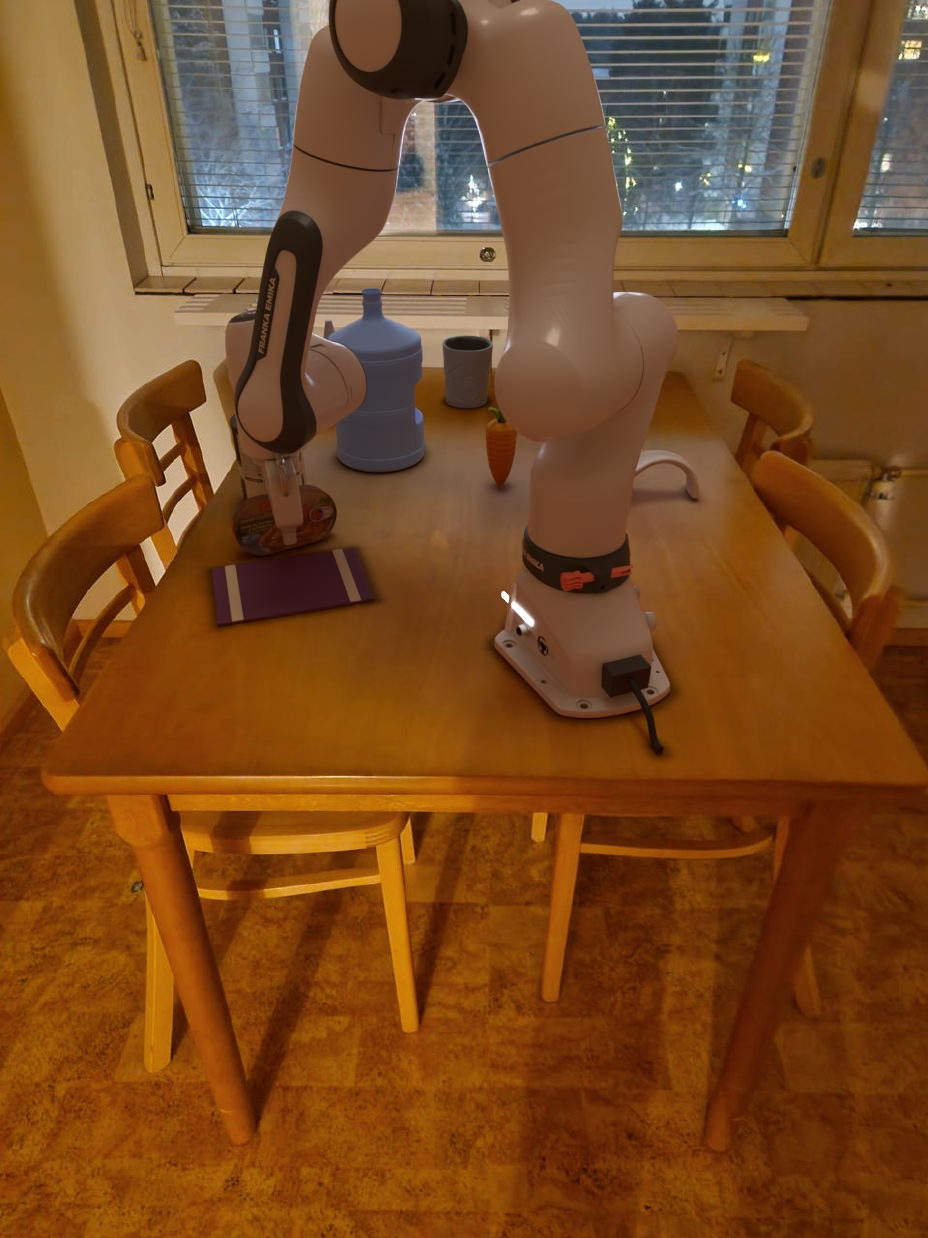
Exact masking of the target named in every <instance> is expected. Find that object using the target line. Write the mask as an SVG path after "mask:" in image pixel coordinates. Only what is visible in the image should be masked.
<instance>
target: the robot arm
mask: <svg viewBox="0 0 928 1238" xmlns="http://www.w3.org/2000/svg"><path fill="white" fill-rule="evenodd" d="M300 79H301V80H300V84H299V91H298V95H297V101H296V109H295V116H294V124H293V135H292V147H291V158H290V166H289V173H288V177H287V182H286V188H285V192H284V196H283V201H282V204H281V207H280V211H279V213H278V216H277V220H276V221H275V224H274V226H273V229H272V231H271V234H270V237H269V239H268V243H267V247H266V251H265V256H264V261H263V267H262V271H261V272H262V273H261V278H260V284H259V291H258V297H257V304H256V308H255V309H251V310H247V311H245V312H244V311H243V312H241V313H238V314H236V315H235V316H233V317H231V318H230V320H228V322H227V324H226V327H225V337H224V338H225V339H224V344H225V359H226V366H227V373H228V379H229V383H230V384H229V385H230V387H231V389H232V392H233V395H234V396H233V402H234V403H233V404H234V412H235V413H234V414H235V416H236V421H237V428H238V434H239V440H240V446H241V451H242V452H243V453H244V454H245V455H247V456H249V457H252V460H253V462H254V463H255V464H256V465H259V466H260V467H261V470H262V473H263V477H264V481H265V485H266V489H267V493H268V497H269V501H270V505H271V509H272V513H273V516H274V520H275V524H276V526H277V527H278V528H281V530H282V536H283V541H284V544H286V545H290V544H295V543H296V542H297V538H296V526H300V525H302V524H303V512H302V505H301V498H300V491H299V484H298V479H297V474H296V471H295V468H294V465H293V463H294V462H296V461H297V460H298V459H299V457H300V455H299V453H300V452H302V451H303V452H304V451H305V450H306V449H307V447H308V443H309V442H311V441H312V440H313V439H314V438H315V437H317V436H318V435H320V434H321V433H323V432H325V431H326V430H329V429H330V428H331V427H333V426H335V424H336V423H338V422H339V421H340V420H342V419H344V418H345V417H347V416H348V415H350V414H352V413H353V412H354V411H355V410H356V409H358V408H359V407H360V406H361V405H362V404H363V402H364V400H365V397H366V394H367V378H366V373H365V370H364V367H363V365H362V363H361V361H360V360H359V358H358V357H357V355H356V354H355V353H354V352H353V351H352V350H351V349H350V348H348V347H347V346H346V345H344V344H342V343H339V342H335V341H329V340H327V339H324V338H323V337H322V336H319V335H317V334H315V333H313V332H314V326H315V321H316V316H317V311H318V308H319V304H320V301H321V298H322V297H323V294H324V292H325V291H326V289H327V287H328V286H329V284H330V283H331V281H332V280H333V279H334V278H335V277H336V276H337V274H338V273H339V272H340V271H341V270H342V269H343V268H344V267H345V266H346V265H347V264H348V263H349V262H350V261H351V260H352V259H353V258H355V257H356V256H357V255H358V254H359V253H360V252H361V251H362V250H364V249H365V248H366V247H367V246H369V245H370V244H371V243H372V242H373V241H375V239H377V237H378V236H380V234H381V232H382V231H383V230H384V228H385V226H386V223H387V220H388V218H389V216H390V212H391V209H392V207H393V203H394V199H395V196H396V191H397V187H398V186H397V185H398V178H399V172H400V164H401V157H402V151H403V142H404V141H403V140H404V135H405V131H406V126H407V122H408V120H409V117H410V116H411V113H412V112H413V110H414V109H415V108H416V107H417V106H418V105H419V104H421V103H423V102H427V103H433V104H439V103H453V102H462V103H463V104H464V105H465V106H466V108H468V110H469V111H470V113H471V115H472V117H473V119H474V121H475V124H476V127H477V130H478V133H479V136H480V137H479V138H480V141H481V145H482V150H483V154H484V155H483V156H484V159H485V164H486V167H487V171H488V177H489V181H490V184H491V190H492V193H493V197H494V202H495V205H496V206H495V207H496V211H497V215H498V218H499V224H500V229H501V233H502V238H503V242H504V247H505V254H506V263H507V271H508V274H507V275H508V319H507V333H506V339H505V344H504V348H503V352H502V354H501V357H500V359H499V361H498V364H497V367H496V370H495V374H494V382H493V383H494V385H493V386H494V395H495V400H496V404H497V406H498V410H500V411H501V413H502V415H503V416H504V418H505V420H506V421H507V422H508V423H509V425H510V426H511V427H512V428H513V429H514V430H515V431H517V434H519V435H520V436H522V437H524V438H525V439H528V440H531V441H534V442H539V443H542V444H541V446H540V448H539V450H538V452H537V453H536V455H535V457H534V460H533V463H532V466H531V470H530V480H529V481H530V482H529V497H528V498H529V499H528V521H527V525H526V526H525V527H524V532H523V537H522V541H521V552H522V553H521V561H522V563H523V564H522V566H521V568H520V571H519V572H518V573H517V575H516V577H515V578H514V580H513V581H512V582H511V584H510V587H509V593H508V594H507V593H506V592H505V591H502V592H501V597H502V599H504V600H505V602H507V609H506V617H505V624H504V625H505V626H504V629H503V630H501V631H500V632H498V633H497V634H496V636H495V637H494V641H493V647H494V649H495V650H496V651H497V652H498V653H499V655H501V656H502V657H503V659H504V660H505V661H506V662H507V663H508V664H509V665H510V666H511V667H512V668H513V669H514V670H515V671H516V672H517V674H518V675H519V676H521V677H522V679H523V680H524V681H525V682H526V683H527V684H528V685H529V686H530V687H531V689H533V690H534V691H535V692H536V693H537V694H538V696H540V698H541V699H542V700H543V701H544V702H545V703H546V704H547V705H548V706H549V707H550V708H551V709H552V710H553V711H554V712H555V713H556V714H558V715H560V716H563V717H568V718H578V719H594V718H595V719H597V718H598V719H599V718H606V717H613V716H619V715H623V714H628V713H630V712H635V711H638V710H642V712H643V715H644V717H645V720H646V724H647V731H648V737H649V740H650V743H651V746H652V748H653V749H654V750H655V751H656V752H657V753H658V754H659V753H663V751H664V750H665V748H664V746H663V745H662V744H661V743H660V740H659V738H658V734H657V727H656V721H655V717H654V714H653V712H652V710H651V707H650V706H652V705H655V704H656V703H658V702H661V701H662V700H663V699H664V698H666V696H667V695H668V694H669V693H670V692H671V683H670V680H669V678H668V676H667V674H666V672H665V670H664V667H663V666H662V663H661V661H660V660H659V657H658V656H657V654H656V652H655V650H654V642H653V636H652V633H651V632H654V631H655V630H656V629H657V616H656V614H655V612H654V611H644V610H643V607H642V605H641V601H640V599H639V598H640V597H641V589H640V586H637V585H634V583H633V580H632V579H631V575H633V572H632V569H633V568H634V566H633V564H632V565H631V556H632V555H631V547H630V541H629V540H630V539H629V535H628V533H627V528H628V522H629V513H630V508H631V501H632V494H633V489H634V487H633V486H634V481H635V478H634V476H635V472H636V468H637V464H638V461H639V457H640V454H641V452H643V448H644V445H645V442H646V439H647V436H648V433H649V430H650V426H651V424H652V420H653V417H654V414H655V410H656V407H657V403H658V399H659V395H660V393H661V390H662V386H663V383H664V380H665V378H666V376H667V373H668V371H669V370H670V367H671V365H672V363H673V361H674V359H675V357H676V354H677V351H678V346H679V329H678V325H677V322H676V320H675V317H674V316H673V313H672V311H671V310H670V308H668V306H667V305H666V304H665V303H664V302H663V301H661V300H660V299H659V298H657V297H656V296H653V295H651V294H648V293H644V292H634V291H618V292H617V291H615V292H614V289H615V288H614V287H615V286H614V285H615V282H614V280H615V260H616V253H617V252H616V250H617V248H618V247H617V246H618V242H619V239H620V236H621V234H622V230H623V223H624V222H623V221H624V219H623V218H624V214H623V209H622V203H621V197H620V194H619V188H618V183H617V178H616V172H615V167H614V162H613V161H614V160H613V155H612V151H611V150H612V149H611V145H610V140H609V133H608V129H607V125H606V124H607V123H606V119H605V115H604V109H603V105H602V101H601V97H600V93H599V89H598V85H597V82H596V78H595V75H594V71H593V68H592V64H591V62H590V59H589V56H588V52H587V50H586V47H585V44H584V41H583V39H582V35H581V34H580V31H579V28H578V26H577V23H576V21H575V19H574V17H573V16H572V13H570V11H569V10H568V9H566V7H565V6H564V5H562V4H560V3H559V2H556V1H554V0H329V5H328V24H327V25H324V26H323V27H321V28H320V29H319V30H318V31H317V32H316V33H315V34H314V36H313V38H312V39H311V40H310V44H309V47H308V50H307V54H306V58H305V62H304V66H303V70H302V75H301V78H300ZM501 413H500V414H501Z"/></svg>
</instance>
